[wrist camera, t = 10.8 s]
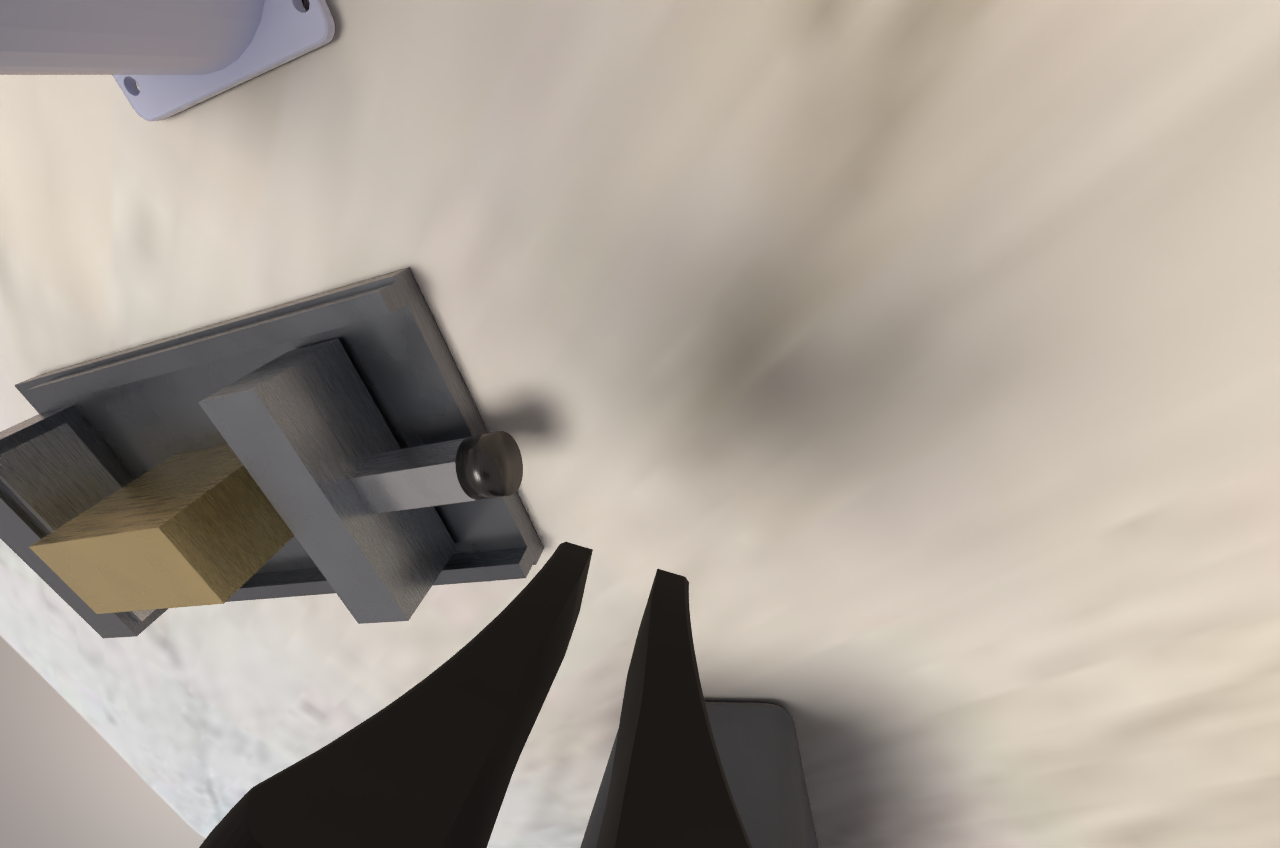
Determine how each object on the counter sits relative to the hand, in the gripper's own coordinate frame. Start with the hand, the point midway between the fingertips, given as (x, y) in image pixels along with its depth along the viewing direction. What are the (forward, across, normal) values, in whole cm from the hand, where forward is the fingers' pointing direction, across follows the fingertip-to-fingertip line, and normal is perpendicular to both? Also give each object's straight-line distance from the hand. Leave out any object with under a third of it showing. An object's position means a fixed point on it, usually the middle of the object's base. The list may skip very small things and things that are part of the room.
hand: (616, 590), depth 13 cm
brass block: (+8, +17, +9) cm, 21 cm away
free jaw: (+8, +9, +5) cm, 13 cm away
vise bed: (+9, +16, +9) cm, 21 cm away
